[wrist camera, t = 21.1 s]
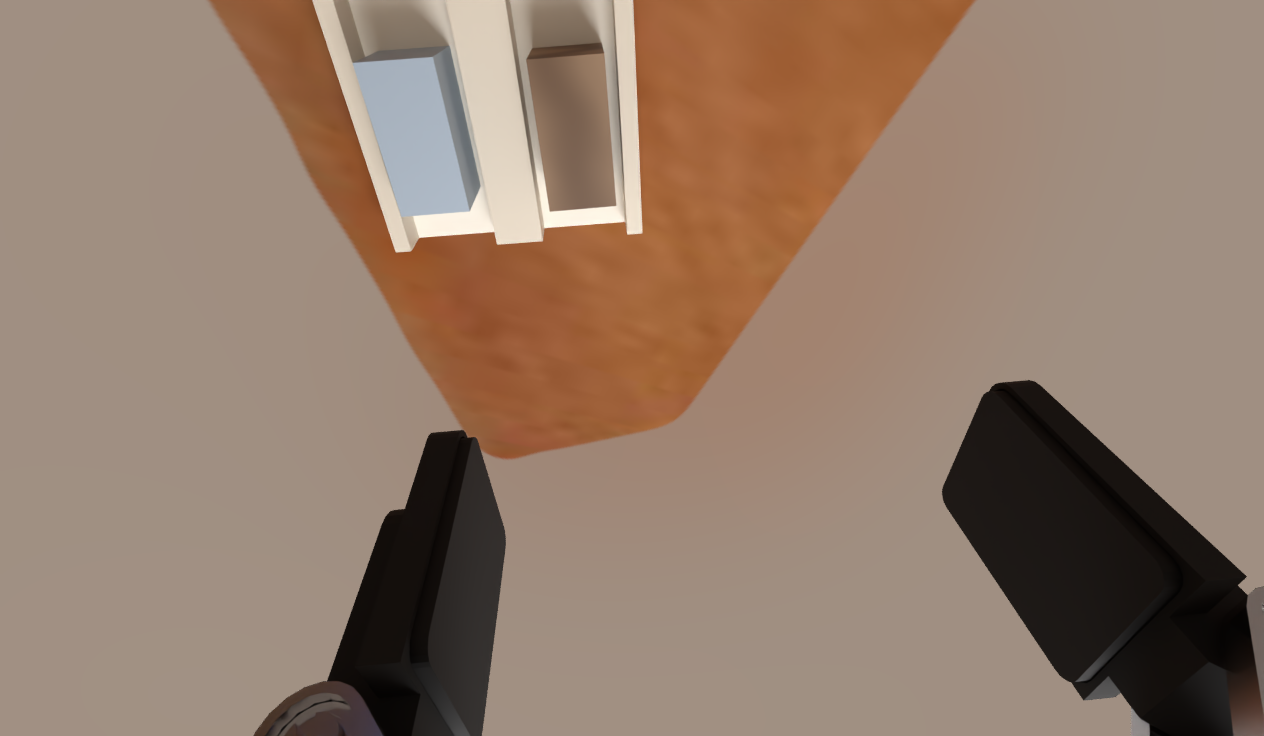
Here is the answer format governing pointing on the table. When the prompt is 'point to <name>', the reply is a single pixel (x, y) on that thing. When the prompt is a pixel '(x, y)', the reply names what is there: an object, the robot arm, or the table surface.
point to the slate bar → (420, 128)
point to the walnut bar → (573, 125)
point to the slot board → (531, 35)
